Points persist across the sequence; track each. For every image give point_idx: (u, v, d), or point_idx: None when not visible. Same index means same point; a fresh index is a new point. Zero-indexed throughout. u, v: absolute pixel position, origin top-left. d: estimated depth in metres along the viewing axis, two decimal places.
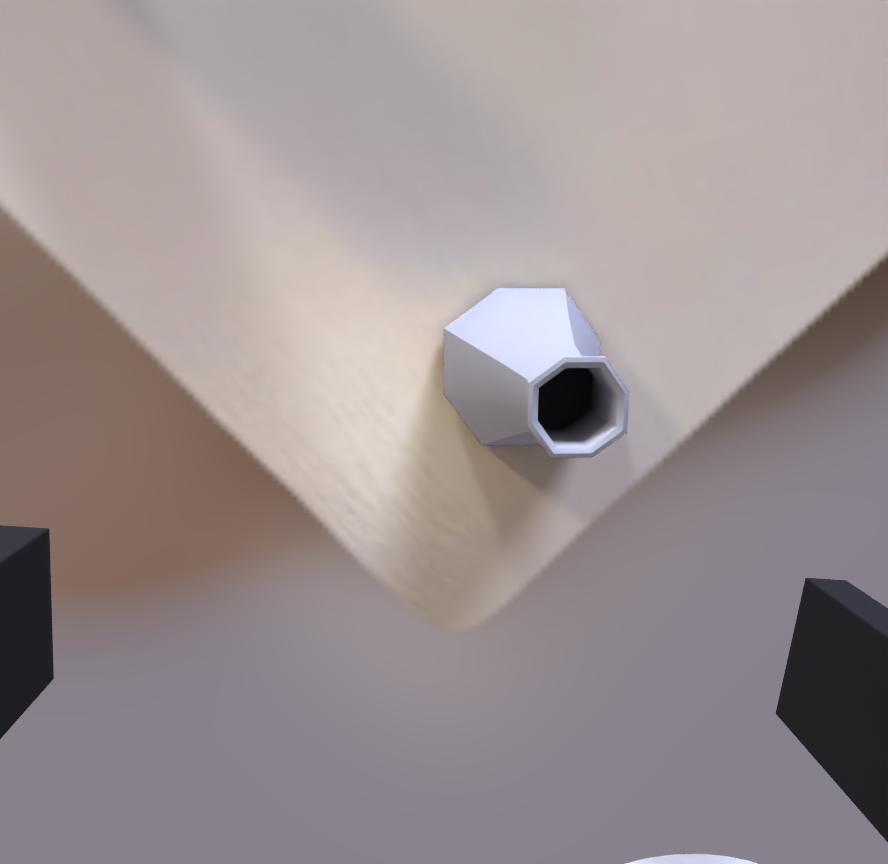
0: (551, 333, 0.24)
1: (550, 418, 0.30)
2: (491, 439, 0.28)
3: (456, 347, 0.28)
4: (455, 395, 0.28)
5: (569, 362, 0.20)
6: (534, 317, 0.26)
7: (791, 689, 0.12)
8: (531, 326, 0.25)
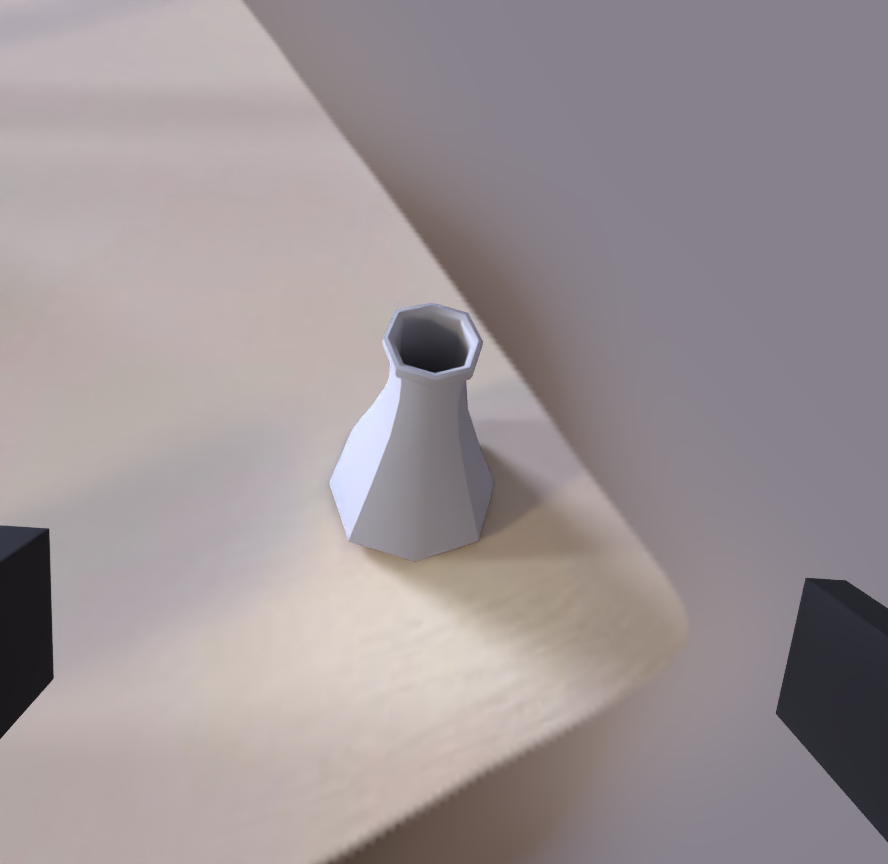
0: (376, 405, 0.26)
1: None
2: (470, 514, 0.27)
3: (368, 522, 0.27)
4: (416, 538, 0.27)
5: (389, 335, 0.21)
6: (360, 431, 0.27)
7: (791, 688, 0.12)
8: (365, 426, 0.26)
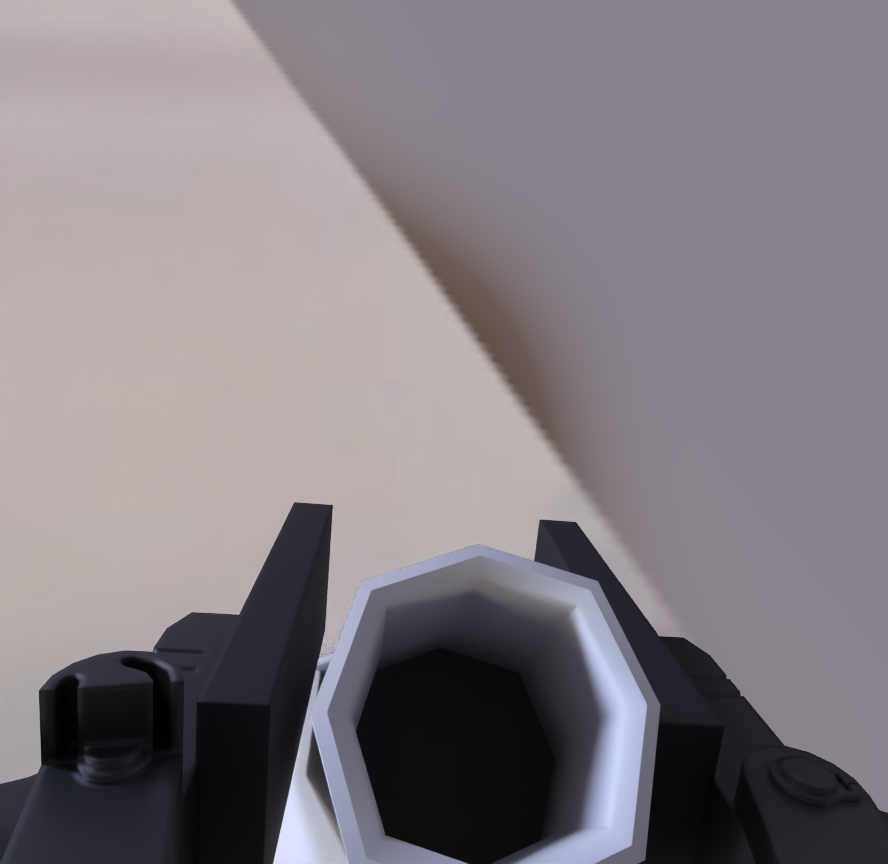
0: None
1: (529, 763, 0.15)
2: None
3: None
4: None
5: (334, 698, 0.06)
6: None
7: None
8: (297, 764, 0.11)
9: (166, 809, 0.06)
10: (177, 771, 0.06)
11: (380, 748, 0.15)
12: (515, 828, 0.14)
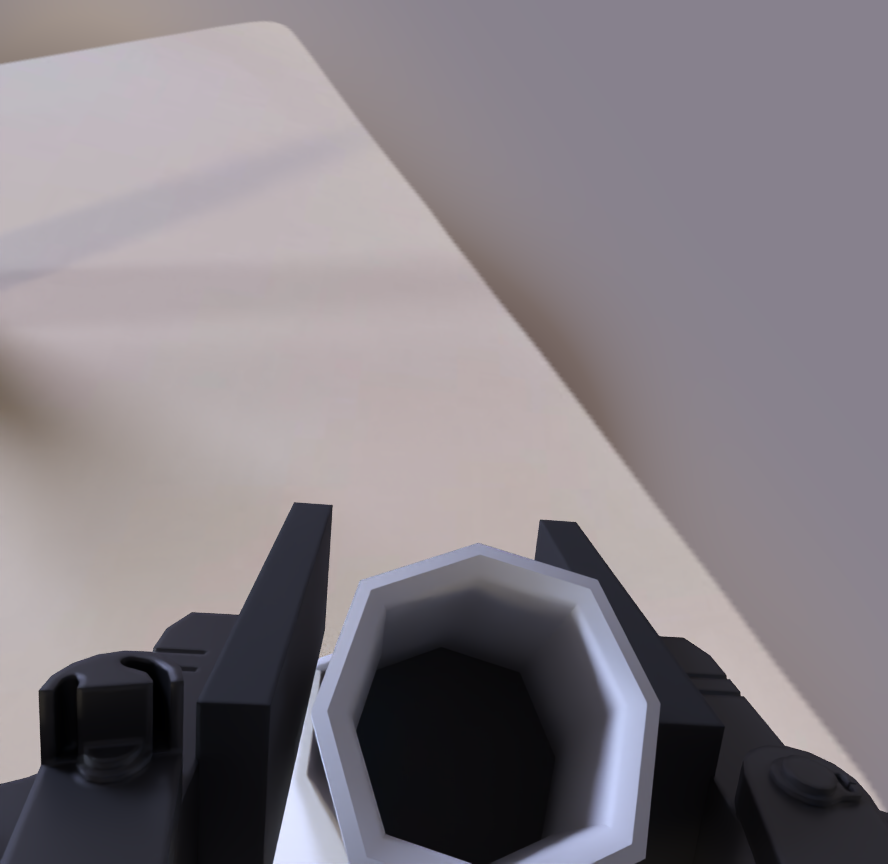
0: None
1: (530, 763, 0.15)
2: None
3: None
4: None
5: (334, 697, 0.06)
6: None
7: None
8: (298, 764, 0.11)
9: (166, 809, 0.06)
10: (177, 771, 0.06)
11: (381, 748, 0.15)
12: (516, 827, 0.14)
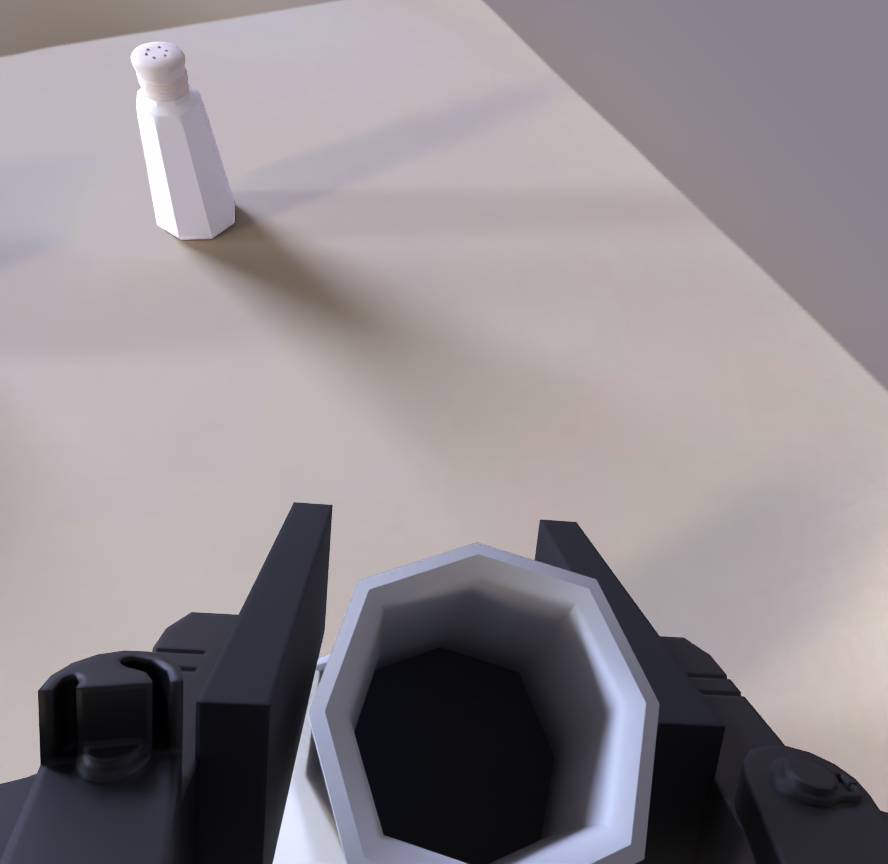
0: None
1: (530, 763, 0.15)
2: None
3: None
4: None
5: (332, 698, 0.06)
6: None
7: None
8: (298, 764, 0.11)
9: (165, 809, 0.06)
10: (176, 771, 0.06)
11: (380, 748, 0.15)
12: (516, 828, 0.14)
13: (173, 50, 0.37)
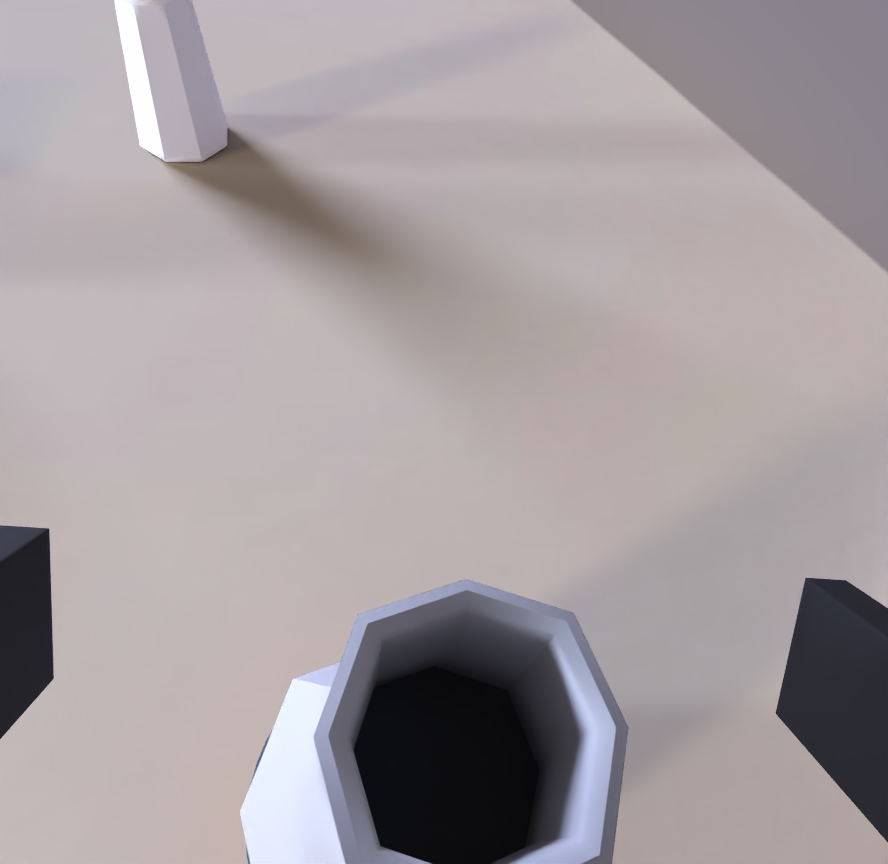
0: None
1: (520, 771, 0.16)
2: None
3: None
4: None
5: (334, 722, 0.07)
6: (294, 759, 0.12)
7: (790, 688, 0.12)
8: (299, 775, 0.11)
9: None
10: None
11: (378, 756, 0.15)
12: (506, 833, 0.15)
13: None
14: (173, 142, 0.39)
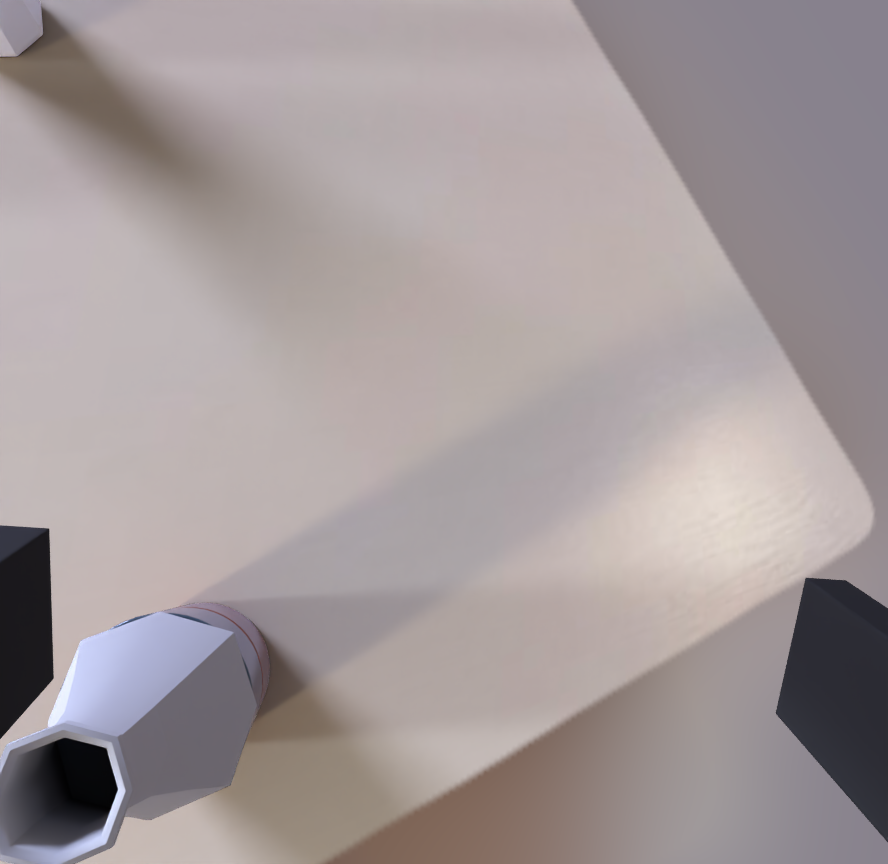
0: None
1: None
2: (208, 788, 0.23)
3: None
4: (141, 818, 0.23)
5: None
6: (56, 719, 0.21)
7: (790, 688, 0.12)
8: None
9: None
10: None
11: None
12: None
13: None
14: None
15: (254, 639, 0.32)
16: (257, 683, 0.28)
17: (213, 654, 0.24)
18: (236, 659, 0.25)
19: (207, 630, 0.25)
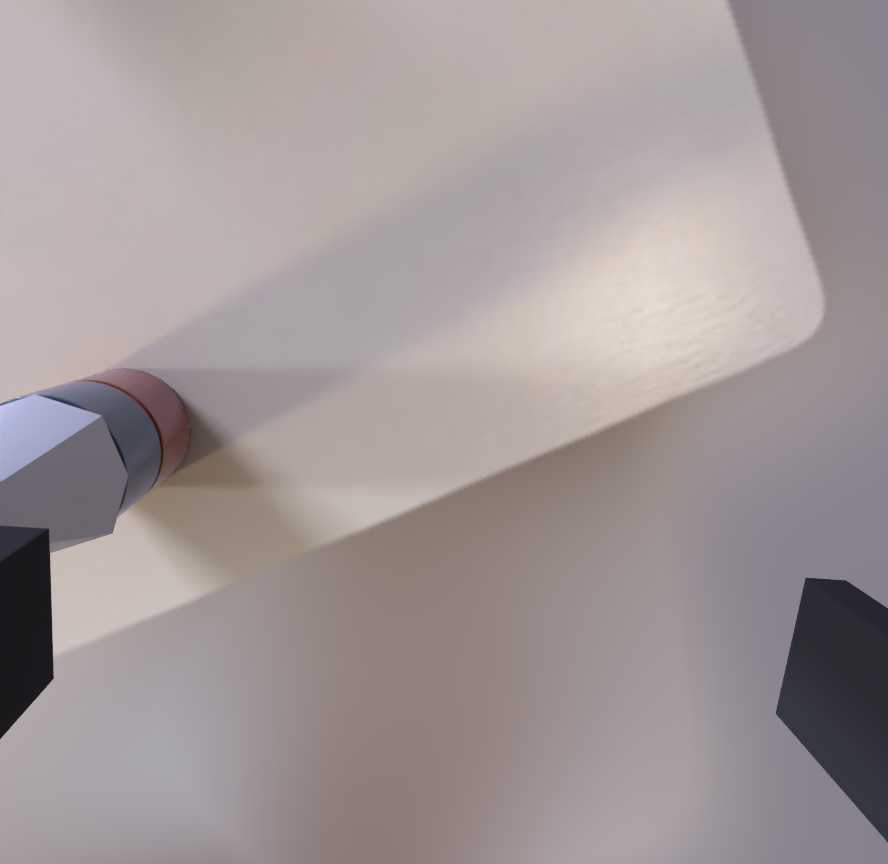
0: None
1: None
2: (82, 538, 0.29)
3: None
4: None
5: None
6: None
7: (790, 688, 0.12)
8: None
9: None
10: None
11: None
12: None
13: None
14: None
15: (159, 409, 0.36)
16: (142, 453, 0.32)
17: (72, 438, 0.28)
18: (102, 439, 0.29)
19: (75, 414, 0.29)
